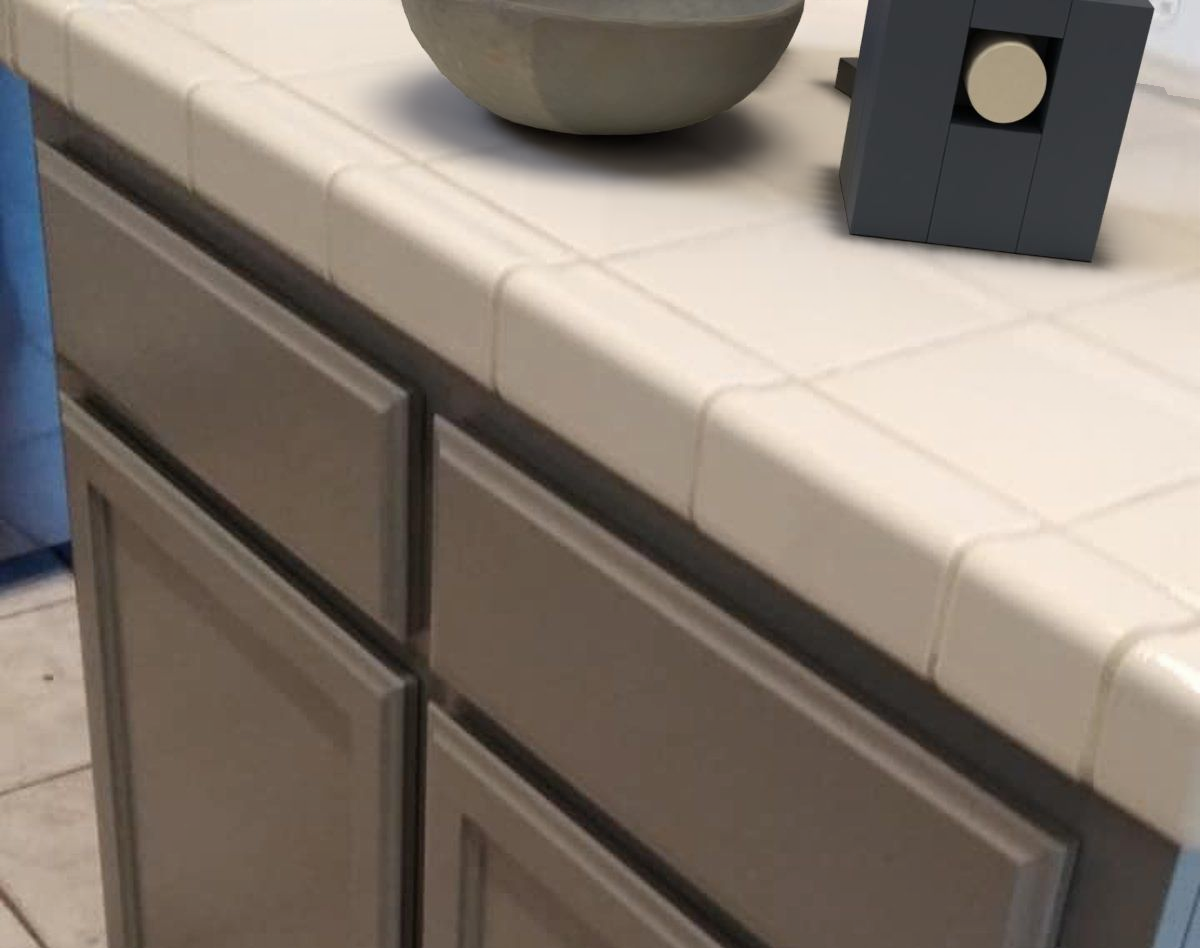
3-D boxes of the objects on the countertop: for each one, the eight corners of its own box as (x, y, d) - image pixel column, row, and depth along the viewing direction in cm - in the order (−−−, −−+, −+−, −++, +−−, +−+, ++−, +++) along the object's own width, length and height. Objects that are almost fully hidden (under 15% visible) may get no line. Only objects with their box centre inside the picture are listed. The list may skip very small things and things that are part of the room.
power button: (953, 96, 98) (968, 19, 96) (1026, 105, 99) (1043, 28, 97) (961, 118, 95) (977, 39, 93) (1036, 127, 96) (1054, 49, 94)
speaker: (838, 173, 107) (882, -86, 100) (1063, 199, 107) (1123, -57, 100) (849, 234, 99) (898, -42, 92) (1092, 262, 100) (1159, -11, 92)
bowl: (536, 205, 98) (551, 34, 93) (319, 80, 111) (322, -75, 106) (859, 160, 109) (886, 5, 105) (627, 51, 122) (642, -90, 118)
